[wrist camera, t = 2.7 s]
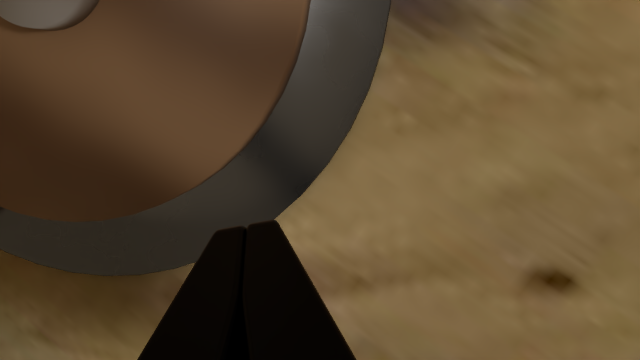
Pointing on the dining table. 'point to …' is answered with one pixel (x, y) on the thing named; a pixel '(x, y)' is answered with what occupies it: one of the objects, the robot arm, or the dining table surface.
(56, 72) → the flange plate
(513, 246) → the dining table surface
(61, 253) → the bowl
